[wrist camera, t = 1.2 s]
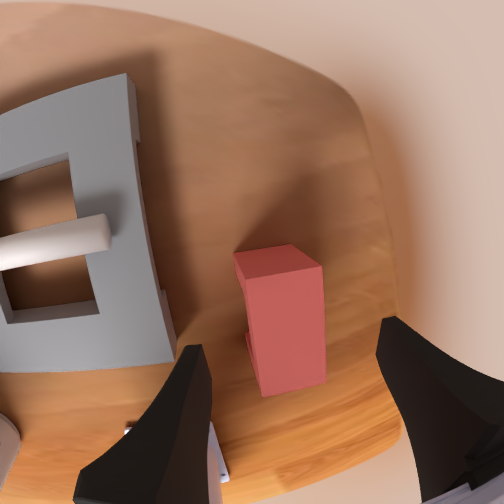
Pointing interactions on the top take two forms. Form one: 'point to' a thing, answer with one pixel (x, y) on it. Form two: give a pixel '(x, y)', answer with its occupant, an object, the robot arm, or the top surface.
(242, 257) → the red arch block
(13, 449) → the energy drink can
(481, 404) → the robot arm
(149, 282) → the grey frame with dowel
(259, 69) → the top surface
